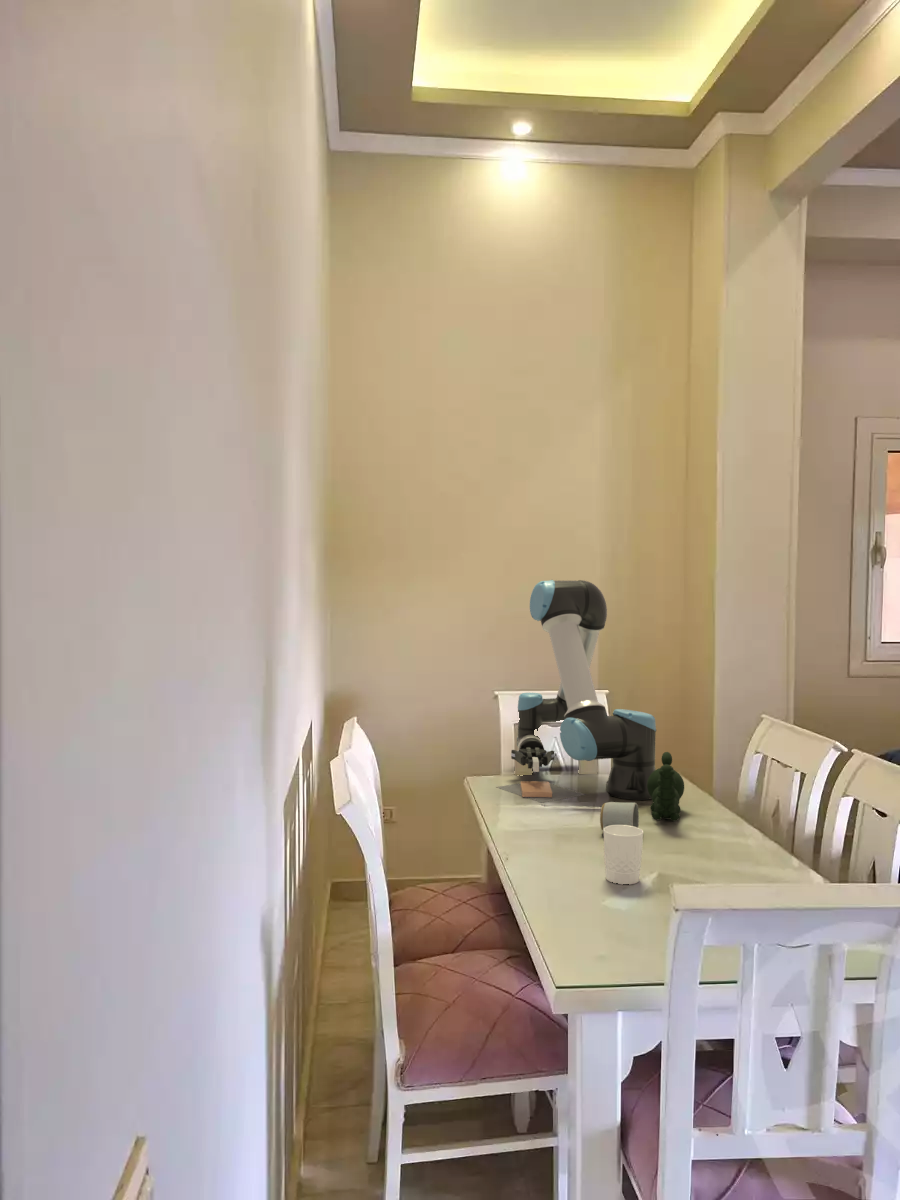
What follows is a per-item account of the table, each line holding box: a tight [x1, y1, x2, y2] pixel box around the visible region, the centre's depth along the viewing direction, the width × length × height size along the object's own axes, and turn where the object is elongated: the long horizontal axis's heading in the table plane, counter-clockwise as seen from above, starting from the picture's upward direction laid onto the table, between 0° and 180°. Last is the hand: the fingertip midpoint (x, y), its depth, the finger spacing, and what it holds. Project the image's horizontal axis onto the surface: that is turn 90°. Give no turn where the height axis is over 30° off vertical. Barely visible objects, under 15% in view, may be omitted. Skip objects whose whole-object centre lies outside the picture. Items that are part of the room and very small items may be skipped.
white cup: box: [602, 825, 644, 885], centre depth 181 cm, size 8×8×10 cm
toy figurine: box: [647, 751, 685, 822], centre depth 228 cm, size 9×19×25 cm
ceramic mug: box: [599, 801, 640, 835], centre depth 211 cm, size 11×8×8 cm
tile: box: [519, 780, 552, 798], centre depth 248 cm, size 2×8×12 cm
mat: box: [495, 779, 587, 804], centre depth 249 cm, size 20×16×1 cm
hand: (536, 766), depth 247 cm, fingers closed
